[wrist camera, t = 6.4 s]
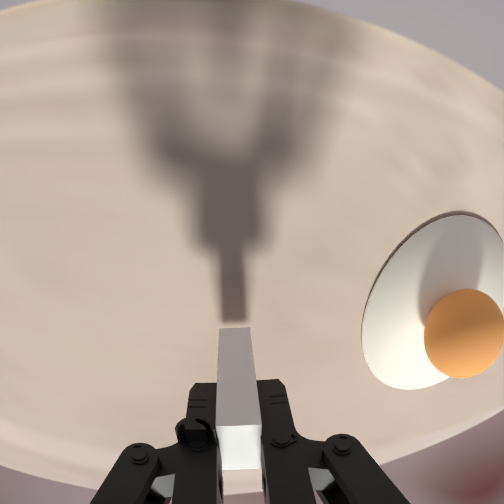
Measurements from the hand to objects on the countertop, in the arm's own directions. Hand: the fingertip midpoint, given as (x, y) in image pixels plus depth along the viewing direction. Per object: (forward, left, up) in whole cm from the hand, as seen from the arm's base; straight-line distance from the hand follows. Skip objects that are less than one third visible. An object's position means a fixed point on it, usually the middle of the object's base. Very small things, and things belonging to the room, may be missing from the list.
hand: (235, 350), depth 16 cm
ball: (0, +14, +1) cm, 14 cm away
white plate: (0, +14, -2) cm, 14 cm away
